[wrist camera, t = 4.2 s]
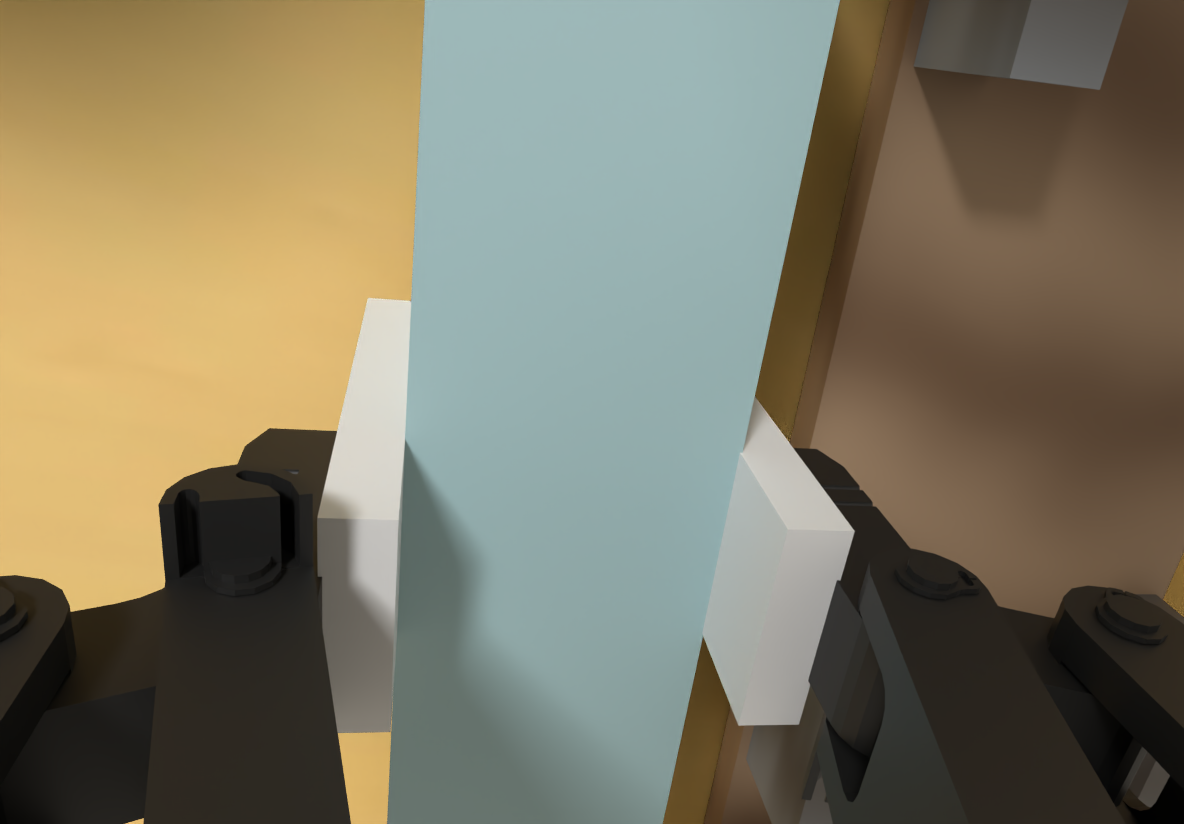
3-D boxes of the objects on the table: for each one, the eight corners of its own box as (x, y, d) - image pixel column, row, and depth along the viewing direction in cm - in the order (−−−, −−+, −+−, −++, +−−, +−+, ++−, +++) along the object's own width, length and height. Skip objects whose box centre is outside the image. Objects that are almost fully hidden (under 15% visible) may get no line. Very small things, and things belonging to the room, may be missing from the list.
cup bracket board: (1034, -636, 13) (1258, -885, 9) (1576, -479, 15) (1940, -638, 11) (696, 857, 25) (738, 1002, 21) (1022, 843, 26) (1113, 975, 23)
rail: (450, -409, 12) (460, -749, 6) (740, -345, 12) (968, -602, 7) (391, 817, 21) (373, 1109, 15) (564, 811, 21) (606, 1087, 16)
